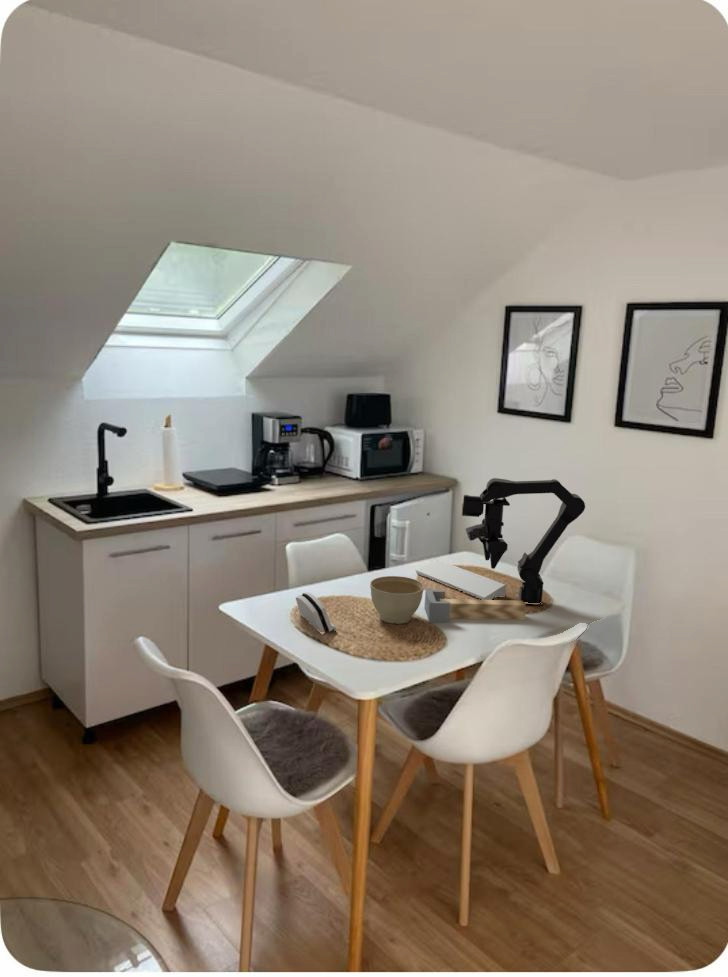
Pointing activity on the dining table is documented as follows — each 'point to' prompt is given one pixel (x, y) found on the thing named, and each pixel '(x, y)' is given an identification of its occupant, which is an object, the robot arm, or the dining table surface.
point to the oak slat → (486, 609)
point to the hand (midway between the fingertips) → (489, 564)
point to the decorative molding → (462, 579)
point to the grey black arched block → (314, 612)
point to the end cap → (436, 606)
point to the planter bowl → (396, 597)
